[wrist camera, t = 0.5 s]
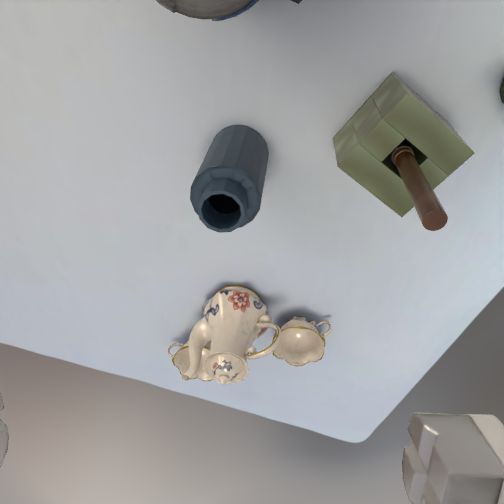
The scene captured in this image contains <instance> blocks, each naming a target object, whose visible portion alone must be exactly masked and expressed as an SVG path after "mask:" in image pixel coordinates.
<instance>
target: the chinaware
mask: <svg viewBox="0 0 504 504" xmlns="http://www.w3.org/2000/svg"><path fill="white" fill-rule="evenodd" d="M202 310H203V314H204V317H203V318H202V319H201V320H200V321H199V322H198V323H197V324H196V325H195V326H194V327H193V329H192V331H191V334H190V337H189V341H187V343H185V344H184V345H183V344H180V343H175V344H172V345H171V346H170V347H169V349H168V354H169V356H170V357H172V358H173V359H172V362H173V364H174V365H175V366H176V367H179V368H178V369H179V371H180V373H181V374H182V375H183V376H182V378H183V379H184V380H189V379H196V378H198V377H199V379H201V380H203V381H211V380H215V381H217V382H220V383H221V384H222V385H225V384H230V383H237V382H239V381H242V380H244V378H245V377H246V376H247V375H248V371H249V368H248V365H247V361H246V358H248V359H256V358H260V357H263V356H266V355H268V354H269V353H271V352H272V351H273V355H274V356H276V357H277V358H278V359H284V358H285V361H287V362H288V363H289V364H290V365H294V366H302V365H305V364H306V363H308V362H309V361H310V362H316V361H318V360H320V359H322V356H323V354H324V347H325V338H324V336H326V335H328V334H329V333H330V331H331V324H330V323H329V322H327V321H322V322H320V323H319V324H317V325H315V321H311V323H310V322H308V321H307V320H306V319H305V317H304V318H303V317H293V318H292V319H291V320H290V321H289V322H287V323H285V324H284V325H283V326H282V327H281V329H280V328H279V327H278V326H277V325H276V324H273V323H272V318H271V317H270V316H268V315H267V307H266V306H265V304H263V303H262V301H261V299H260V297H259V296H258V295H257V294H256V293H255V292H254V291H252V290H251V289H249V288H246V287H243V286H237V285H233V286H227V287H224V288H222V289H220V290H219V291H217V292H216V293H215V295H214V296H213V297H212V298H211V299H209V300H208V301H206V302H205V303H204V304H203V306H202ZM324 323H326V324H329V329H328V331H327V332H326V333H325V334H324V333H323V332H321V334H319V333H318V331H317V329H316V328H315V327H317V326H319V325H321V324H324ZM267 327H269V328H274V329H276V331H277V333H275V335H274V337H273V343H272V344H271V345H270V346H269V347H267V348H266V349H264V350H262V351H260V352H258V353H256V349H255V348H253V347H250V346H251V345H252V343H253V342H254V340H255V339H257V338H258V337H259V336H260V335H262V334H263V333H264V332H265V331H266V330H267ZM176 345H180V346H183V347H182V348H181V349H180V350H179V351H178V352H177V353H175V355H174V356H173V355H171V354H170V349H171V348H172V347H173V346H176ZM249 353H250V354H251V355H248V354H249Z"/></svg>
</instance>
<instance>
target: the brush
mask: <svg viewBox="0 0 504 504" xmlns="http://www.w3.org/2000/svg"><path fill="white" fill-rule="evenodd" d="M389 155H390V158H391V160H392V162H393V164H395V165H396V166H397V169H398V171H399V173H400V175H401V178H402V180H403V182H404V184H405V187H406V189H407V191H408V193H409V195H410V198H411V200H412V202H413V204H414V207H415V209H416V211H417V213H418V215H419V218H420V220H421V222H422V224H423V226H424V228H426V229H427V230H431V231H435V230H439V229H441V228H442V227H444V226H445V224H446V223H447V219H448V217H447V214H446V213H445V211H444V209H443V207H442V205H441V204H440V202H439V200H438V198H437V196H436V195H435V193H434V191H433V189H432V187H431V186H430V184H429V182H428V180H427V179H426V177H425V175H424V173H423V171H422V170H421V168H420V166H419V164H418V162H417V161H416V159H415V157H414V151H413V149H412V148H411V146H410V144H409V142H408V141H407V139H406V138H405V139H404V140H403V141H402V142H401V143H400V144H399V145H398V146H397V147H396V148H395V149H394V150H393V151H392V152H391V153H390V154H389Z"/></svg>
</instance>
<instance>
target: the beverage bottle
mask: <svg viewBox="0 0 504 504" xmlns="http://www.w3.org/2000/svg"><path fill="white" fill-rule="evenodd" d="M156 1H157V2H158V3H159V4H161V5H162V6H164V7H165V8H167V9H169V10H170V11H172V12H173V13H175V12H178V13H180V14H183V15H185V16H188V17H192V18H198V19H212V20H213V21H218V20H225V19H228V18H231V17H235V16H237V15H239V14H241V13H242V12H244V11H246V10H248V9H249V8H250V7H252V6H253V5H254V4H255V3H256V2H257V1H259V0H156ZM291 1H293V2H296V3H298V4H299V3H300V2H301V1H302V0H291Z"/></svg>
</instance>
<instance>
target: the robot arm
mask: <svg viewBox="0 0 504 504" xmlns="http://www.w3.org/2000/svg"><path fill="white" fill-rule="evenodd" d="M3 409H4V405H3V400H2V396H1V393H0V413H1V412H2V410H3ZM408 431H409V434H410V436H411V439H412V442H411V443H410V444H408V445H407V446H406V447H405V448H404V454H403V461H402V468H403V481H404V485H405V490H406V493H407V496H408V498H409V501H410V502H411V503H412V504H504V426H503V424H502V423H501V422H500V421H499V419H498V418H496V417H495V416H493V415H480V414H479V415H478V414H465V415H455V414H435V413H413V414H412V416H411V418H410V421H409V426H408ZM8 440H9V435H8V428H7V426H6V425H5V424H4V423H3V421H2V420H1V419H0V467H1V465H2V463H3V460H4V458H5V455H6V452H7V450H8Z"/></svg>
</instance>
